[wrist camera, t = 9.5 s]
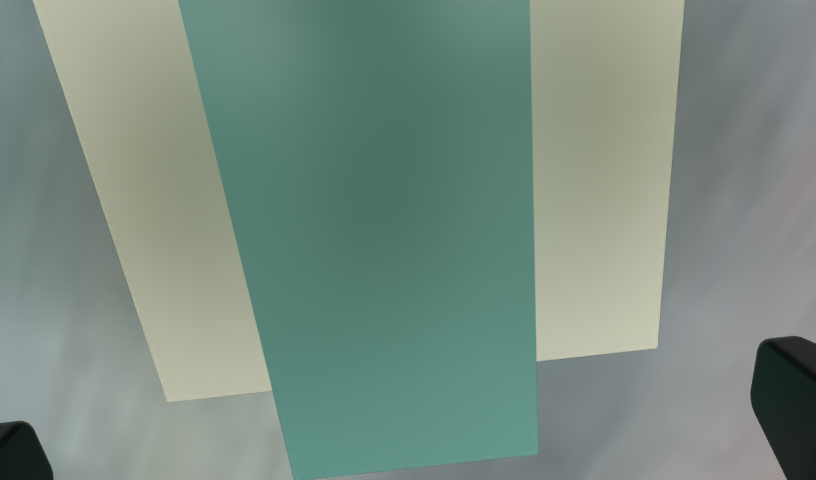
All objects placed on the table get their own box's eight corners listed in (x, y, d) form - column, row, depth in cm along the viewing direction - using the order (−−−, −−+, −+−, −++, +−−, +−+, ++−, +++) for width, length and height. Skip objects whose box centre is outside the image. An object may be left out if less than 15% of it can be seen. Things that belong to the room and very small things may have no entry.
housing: (479, -111, 14) (527, -124, 10) (500, 330, 20) (538, 454, 15) (225, -83, 14) (157, -82, 10) (312, 351, 20) (294, 480, 15)
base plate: (639, 320, 21) (657, 347, 20) (180, 371, 21) (167, 402, 20) (671, -188, 15) (699, -198, 14) (27, -114, 15) (-7, -117, 14)
